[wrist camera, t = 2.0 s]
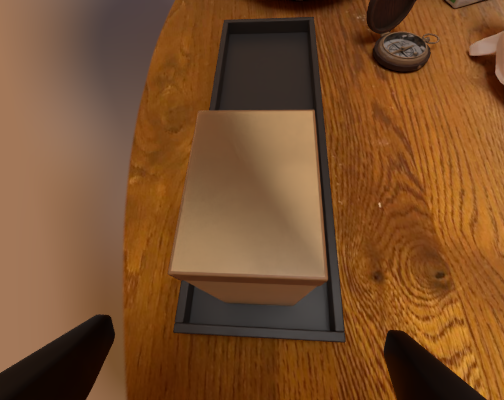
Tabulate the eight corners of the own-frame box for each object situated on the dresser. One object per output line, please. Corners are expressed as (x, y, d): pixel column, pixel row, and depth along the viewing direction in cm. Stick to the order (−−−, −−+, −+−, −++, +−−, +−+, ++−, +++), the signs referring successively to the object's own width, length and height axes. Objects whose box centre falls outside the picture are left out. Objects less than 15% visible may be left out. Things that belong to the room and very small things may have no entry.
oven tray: (337, 340, 18) (345, 342, 16) (182, 332, 19) (172, 332, 17) (311, 34, 33) (313, 16, 32) (226, 36, 34) (223, 19, 32)
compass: (394, 80, 29) (430, 9, 22) (354, 42, 32) (375, -30, 26) (452, 58, 30) (503, -16, 23) (407, 23, 33) (441, -51, 27)
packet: (294, 307, 19) (328, 280, 8) (224, 303, 19) (166, 274, 8) (291, 216, 22) (315, 108, 11) (232, 215, 22) (197, 110, 11)
